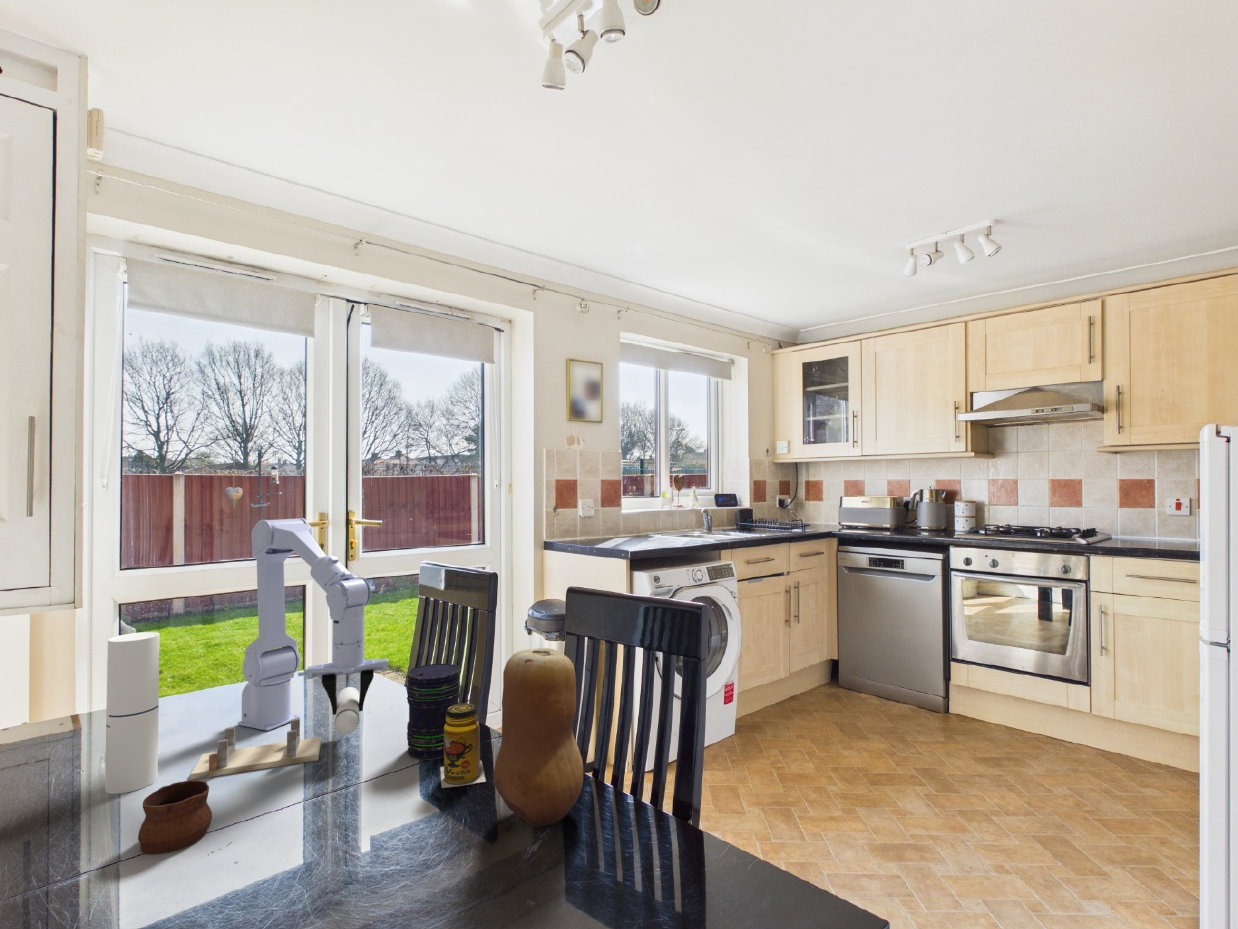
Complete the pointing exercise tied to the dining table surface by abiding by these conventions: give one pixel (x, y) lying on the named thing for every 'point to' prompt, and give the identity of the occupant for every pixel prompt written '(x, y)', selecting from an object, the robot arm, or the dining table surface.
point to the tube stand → (256, 754)
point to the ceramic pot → (175, 817)
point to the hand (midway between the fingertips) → (347, 711)
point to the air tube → (347, 711)
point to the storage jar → (430, 708)
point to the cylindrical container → (132, 712)
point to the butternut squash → (539, 737)
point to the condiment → (461, 747)
